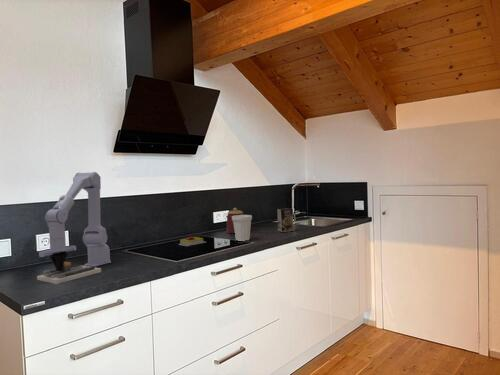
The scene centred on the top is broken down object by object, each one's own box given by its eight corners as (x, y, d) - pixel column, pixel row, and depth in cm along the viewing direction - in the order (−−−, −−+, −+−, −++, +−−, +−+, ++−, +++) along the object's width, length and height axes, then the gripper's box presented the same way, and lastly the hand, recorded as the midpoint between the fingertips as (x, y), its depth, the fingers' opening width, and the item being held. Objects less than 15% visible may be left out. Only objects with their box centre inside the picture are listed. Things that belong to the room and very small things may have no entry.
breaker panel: (82, 268, 167) (81, 261, 167) (101, 271, 159) (100, 264, 159) (37, 279, 150) (36, 272, 150) (56, 284, 142) (55, 276, 142)
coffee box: (282, 233, 247) (281, 209, 246) (277, 232, 252) (276, 208, 252) (293, 231, 250) (293, 208, 250) (289, 230, 256) (288, 207, 256)
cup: (255, 241, 218) (254, 216, 218) (234, 243, 215) (233, 217, 215) (250, 238, 230) (249, 214, 230) (230, 240, 227) (229, 215, 227)
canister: (248, 231, 260) (247, 206, 260) (240, 234, 248) (239, 208, 248) (231, 231, 265) (231, 206, 265) (223, 233, 254) (222, 208, 253)
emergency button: (177, 238, 219) (197, 234, 229) (177, 245, 219) (197, 241, 230) (186, 239, 212) (206, 235, 223) (186, 247, 212) (207, 243, 223)
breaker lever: (66, 271, 155) (66, 261, 155) (71, 272, 153) (70, 262, 153) (60, 272, 153) (60, 262, 153) (65, 273, 151) (64, 263, 151)
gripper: (44, 241, 142) (46, 276, 142) (79, 235, 154) (81, 267, 155) (35, 240, 146) (37, 274, 146) (70, 234, 158) (71, 266, 158)
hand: (59, 270), depth 151 cm, fingers closed
